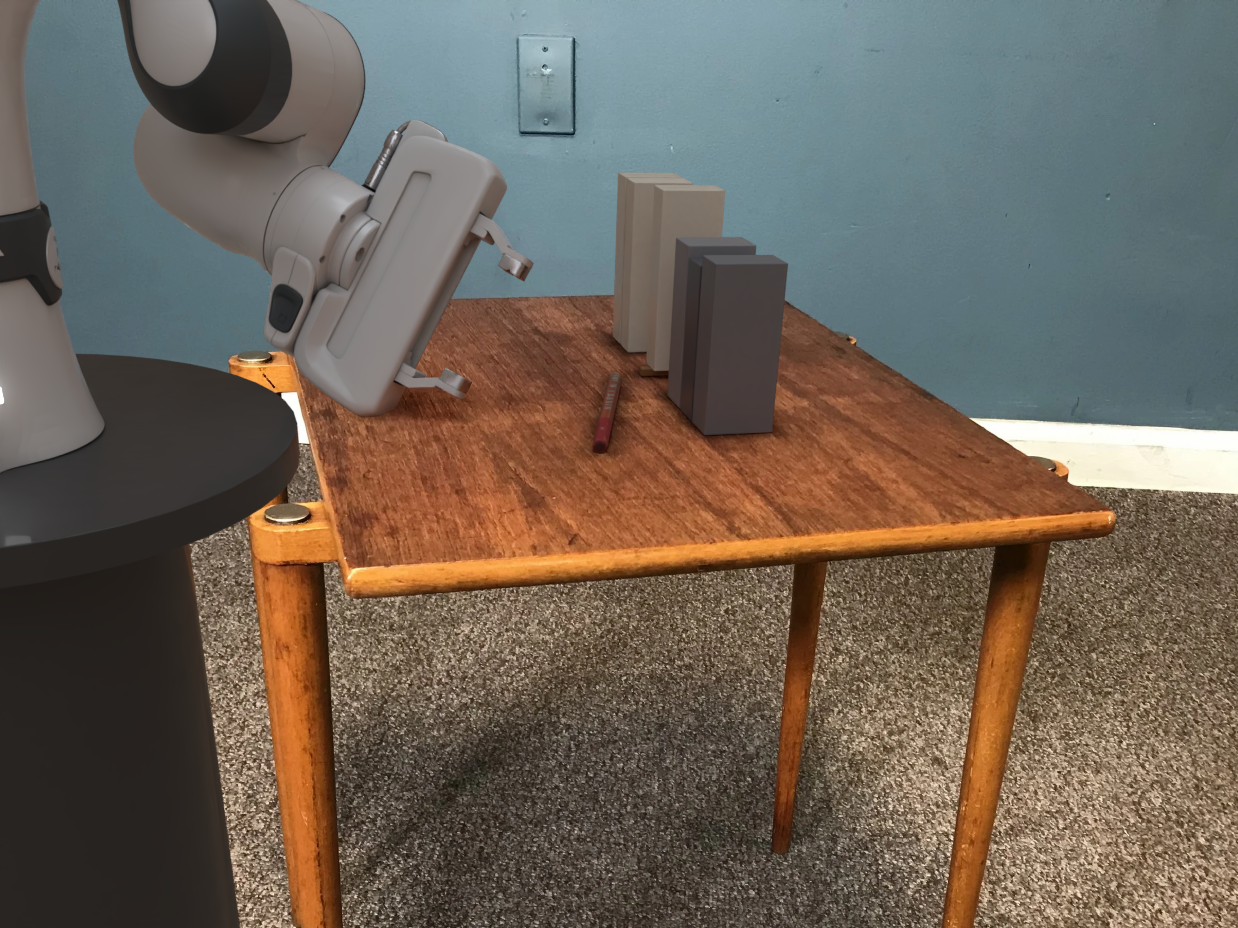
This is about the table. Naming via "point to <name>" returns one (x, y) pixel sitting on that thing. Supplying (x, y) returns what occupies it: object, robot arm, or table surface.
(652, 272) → the white book
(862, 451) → the table surface
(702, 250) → the grey books
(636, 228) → the white books
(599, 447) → the pencil
